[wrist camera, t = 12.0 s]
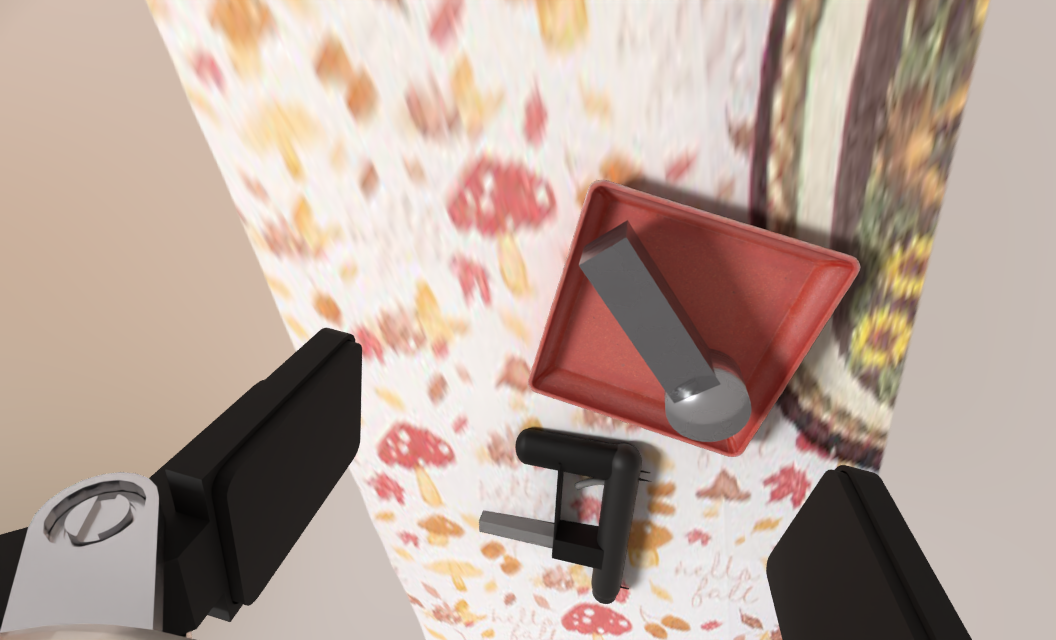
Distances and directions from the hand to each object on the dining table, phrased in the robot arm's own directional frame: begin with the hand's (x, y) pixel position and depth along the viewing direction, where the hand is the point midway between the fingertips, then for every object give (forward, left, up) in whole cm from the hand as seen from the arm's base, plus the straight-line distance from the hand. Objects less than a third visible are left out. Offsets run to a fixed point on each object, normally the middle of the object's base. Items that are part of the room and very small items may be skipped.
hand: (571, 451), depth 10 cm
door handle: (+33, +3, -29) cm, 44 cm away
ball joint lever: (+9, +6, -25) cm, 28 cm away
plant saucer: (+10, +7, -29) cm, 31 cm away
